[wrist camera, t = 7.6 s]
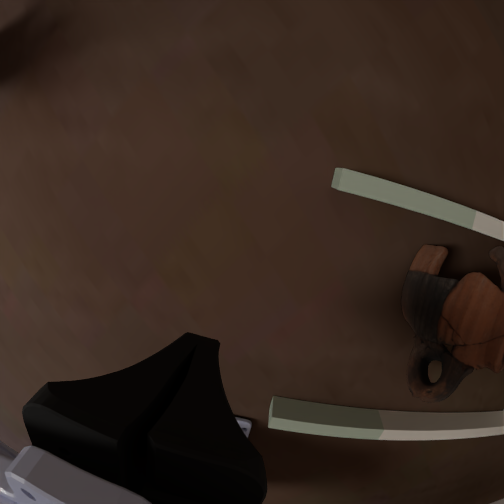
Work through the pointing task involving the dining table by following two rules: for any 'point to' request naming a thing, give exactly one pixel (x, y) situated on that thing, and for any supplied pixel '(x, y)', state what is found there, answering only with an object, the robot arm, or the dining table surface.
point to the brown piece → (451, 323)
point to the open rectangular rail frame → (384, 421)
